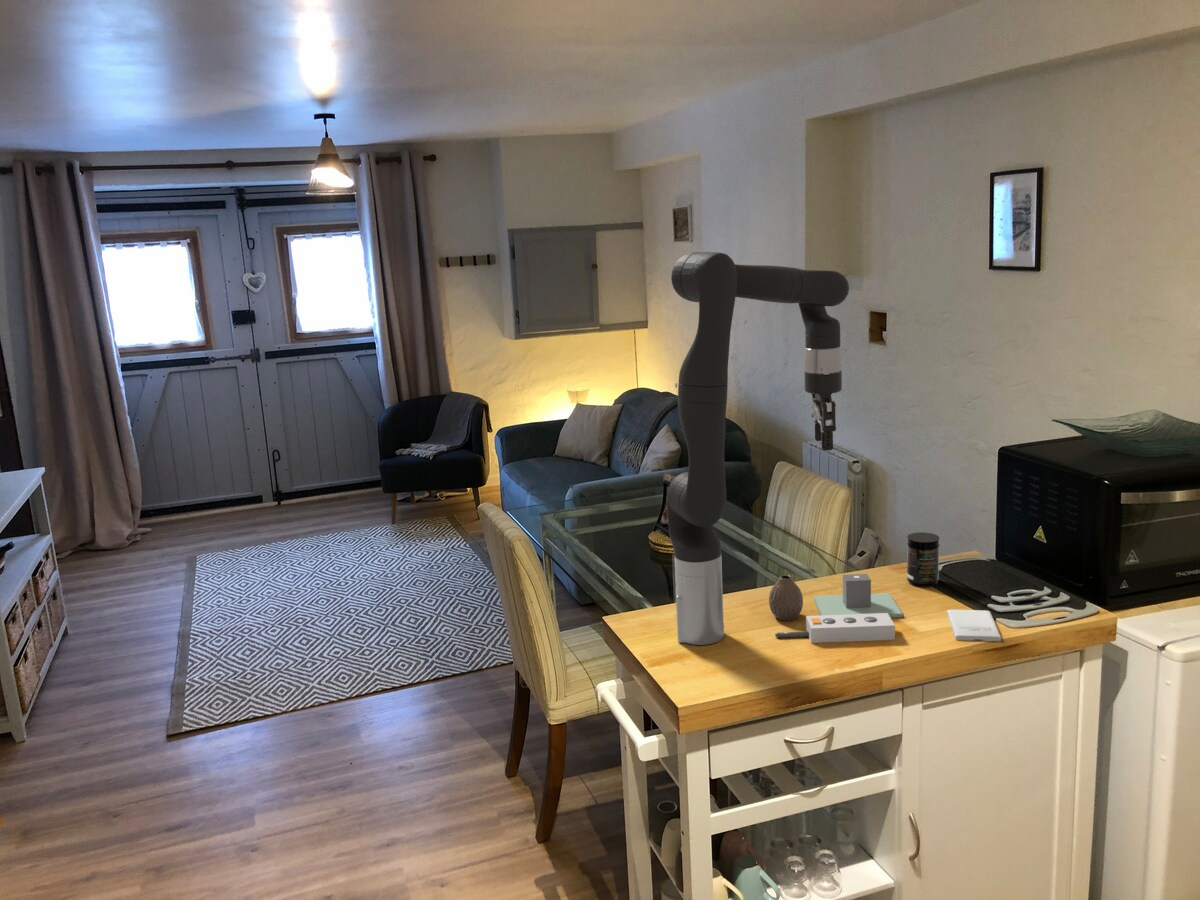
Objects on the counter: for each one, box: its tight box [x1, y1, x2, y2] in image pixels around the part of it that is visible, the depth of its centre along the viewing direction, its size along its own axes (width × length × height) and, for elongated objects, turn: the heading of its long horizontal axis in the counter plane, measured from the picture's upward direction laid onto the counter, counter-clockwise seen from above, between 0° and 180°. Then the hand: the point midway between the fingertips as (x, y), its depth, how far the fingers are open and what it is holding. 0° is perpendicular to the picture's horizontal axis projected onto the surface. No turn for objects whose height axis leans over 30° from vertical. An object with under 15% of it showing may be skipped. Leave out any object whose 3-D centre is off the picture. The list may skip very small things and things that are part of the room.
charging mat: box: [813, 592, 903, 619], centre depth 206 cm, size 16×11×1 cm
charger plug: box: [842, 573, 872, 608], centre depth 205 cm, size 5×4×6 cm
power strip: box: [774, 613, 896, 644], centre depth 194 cm, size 22×6×3 cm, turn 87°
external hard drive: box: [946, 609, 1002, 642], centre depth 194 cm, size 2×8×12 cm
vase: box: [768, 574, 804, 621], centre depth 203 cm, size 7×7×9 cm
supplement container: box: [906, 532, 941, 588], centre depth 217 cm, size 7×7×10 cm
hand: (823, 445), depth 207 cm, fingers open, 8 cm apart
